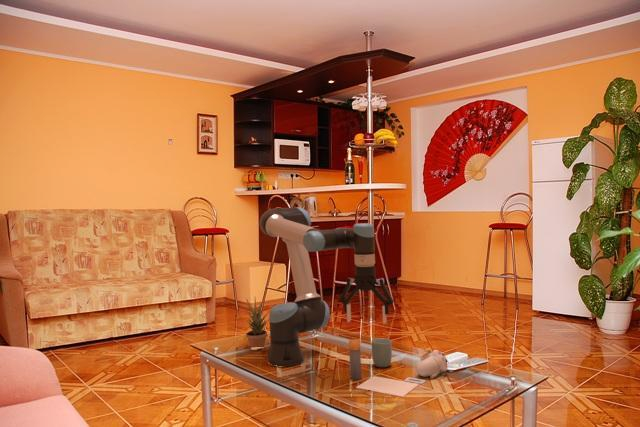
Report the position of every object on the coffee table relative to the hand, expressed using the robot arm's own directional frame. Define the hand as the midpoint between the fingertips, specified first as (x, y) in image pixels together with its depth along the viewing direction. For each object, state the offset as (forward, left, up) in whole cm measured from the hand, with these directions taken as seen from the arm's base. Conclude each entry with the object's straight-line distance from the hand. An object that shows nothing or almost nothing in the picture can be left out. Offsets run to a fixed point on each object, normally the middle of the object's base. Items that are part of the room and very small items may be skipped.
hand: (366, 322), depth 197 cm
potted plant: (-62, +8, -20) cm, 66 cm away
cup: (-1, +12, -20) cm, 24 cm away
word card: (+17, +3, -20) cm, 27 cm away
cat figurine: (+20, +12, -20) cm, 31 cm away
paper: (+11, -7, -20) cm, 24 cm away
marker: (-3, -5, -20) cm, 21 cm away
